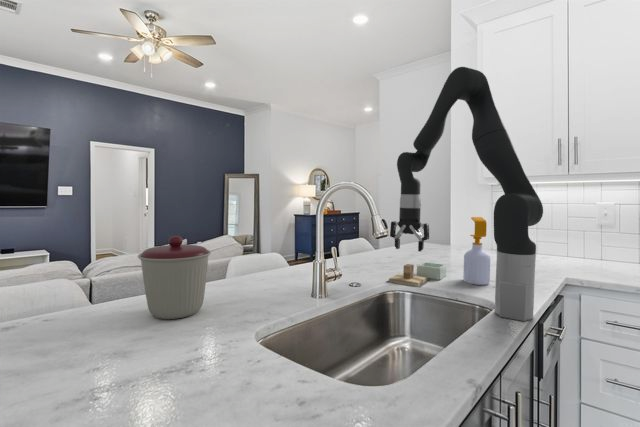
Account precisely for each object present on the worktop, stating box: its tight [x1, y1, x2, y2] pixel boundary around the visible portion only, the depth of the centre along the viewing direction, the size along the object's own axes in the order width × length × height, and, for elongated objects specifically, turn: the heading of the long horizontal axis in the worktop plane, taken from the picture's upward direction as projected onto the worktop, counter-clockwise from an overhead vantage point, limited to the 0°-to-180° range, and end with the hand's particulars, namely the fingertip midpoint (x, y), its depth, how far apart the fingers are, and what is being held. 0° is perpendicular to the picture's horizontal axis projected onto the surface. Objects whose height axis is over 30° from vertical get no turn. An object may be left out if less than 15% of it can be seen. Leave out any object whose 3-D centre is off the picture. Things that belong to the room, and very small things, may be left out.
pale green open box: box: [416, 261, 447, 281], centre depth 136 cm, size 9×9×5 cm
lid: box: [388, 263, 429, 287], centre depth 129 cm, size 11×11×6 cm
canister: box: [137, 235, 212, 320], centre depth 93 cm, size 18×18×21 cm
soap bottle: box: [462, 216, 491, 286], centre depth 129 cm, size 9×9×25 cm
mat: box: [385, 279, 431, 288], centre depth 129 cm, size 13×13×1 cm
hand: (408, 249), depth 128 cm, fingers open, 8 cm apart
